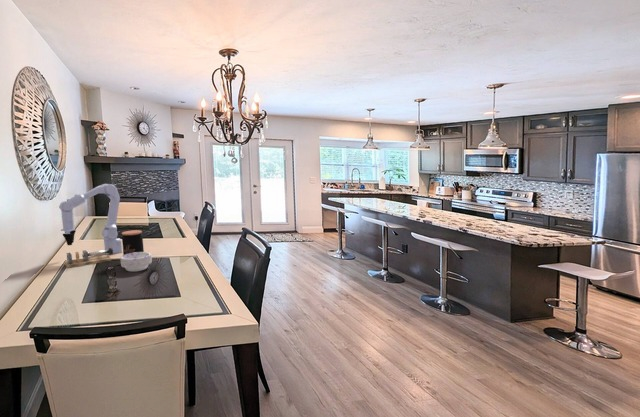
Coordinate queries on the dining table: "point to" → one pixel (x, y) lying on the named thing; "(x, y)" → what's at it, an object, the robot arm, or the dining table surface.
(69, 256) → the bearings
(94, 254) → the shaft
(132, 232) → the coffee jar
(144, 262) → the paper bowls
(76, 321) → the dining table surface
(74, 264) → the base board
